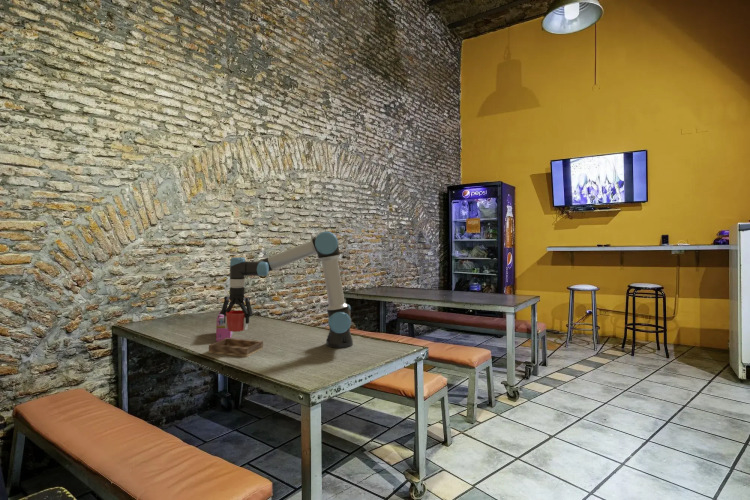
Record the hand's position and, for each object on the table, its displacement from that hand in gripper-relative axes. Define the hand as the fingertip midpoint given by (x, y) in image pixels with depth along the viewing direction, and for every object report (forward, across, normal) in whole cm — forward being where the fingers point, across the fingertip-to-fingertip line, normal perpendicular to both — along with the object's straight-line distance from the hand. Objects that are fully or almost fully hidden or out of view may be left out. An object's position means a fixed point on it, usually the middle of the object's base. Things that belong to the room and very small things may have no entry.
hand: (236, 328), depth 221 cm
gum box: (+12, +24, -25) cm, 36 cm away
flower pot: (+1, 0, 0) cm, 1 cm away
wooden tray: (+12, 0, 0) cm, 12 cm away
